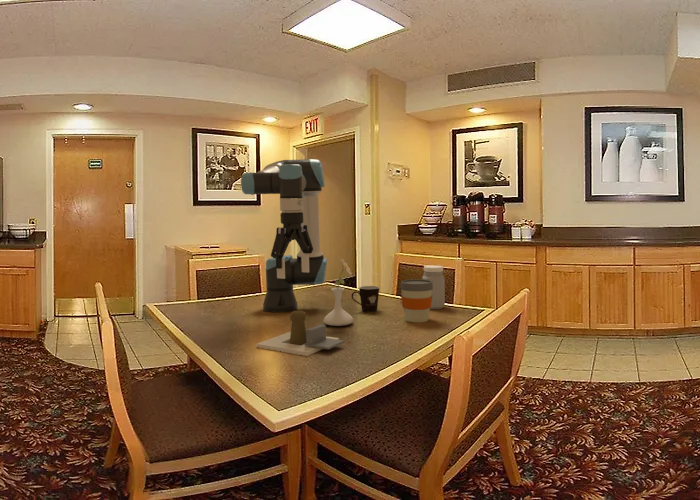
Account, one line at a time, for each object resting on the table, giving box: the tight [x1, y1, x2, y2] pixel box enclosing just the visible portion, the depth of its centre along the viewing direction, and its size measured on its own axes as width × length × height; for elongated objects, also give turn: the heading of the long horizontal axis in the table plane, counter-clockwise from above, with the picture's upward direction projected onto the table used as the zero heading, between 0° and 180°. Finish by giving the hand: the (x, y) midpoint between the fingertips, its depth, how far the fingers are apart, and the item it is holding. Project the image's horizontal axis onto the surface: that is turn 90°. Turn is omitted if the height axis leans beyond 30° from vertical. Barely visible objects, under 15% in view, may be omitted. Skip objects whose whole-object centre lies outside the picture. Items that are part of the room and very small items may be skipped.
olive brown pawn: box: [289, 310, 307, 345], centre depth 163 cm, size 6×6×11 cm
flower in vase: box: [323, 258, 354, 327], centre depth 190 cm, size 13×11×25 cm
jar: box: [421, 264, 446, 310], centre depth 218 cm, size 10×10×18 cm
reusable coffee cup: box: [400, 278, 433, 323], centre depth 195 cm, size 12×13×15 cm
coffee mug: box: [351, 285, 380, 313], centre depth 214 cm, size 12×9×10 cm
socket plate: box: [255, 331, 340, 357], centre depth 164 cm, size 20×18×1 cm
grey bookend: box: [304, 324, 345, 350], centre depth 158 cm, size 9×9×5 cm
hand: (293, 275), depth 169 cm, fingers open, 13 cm apart
